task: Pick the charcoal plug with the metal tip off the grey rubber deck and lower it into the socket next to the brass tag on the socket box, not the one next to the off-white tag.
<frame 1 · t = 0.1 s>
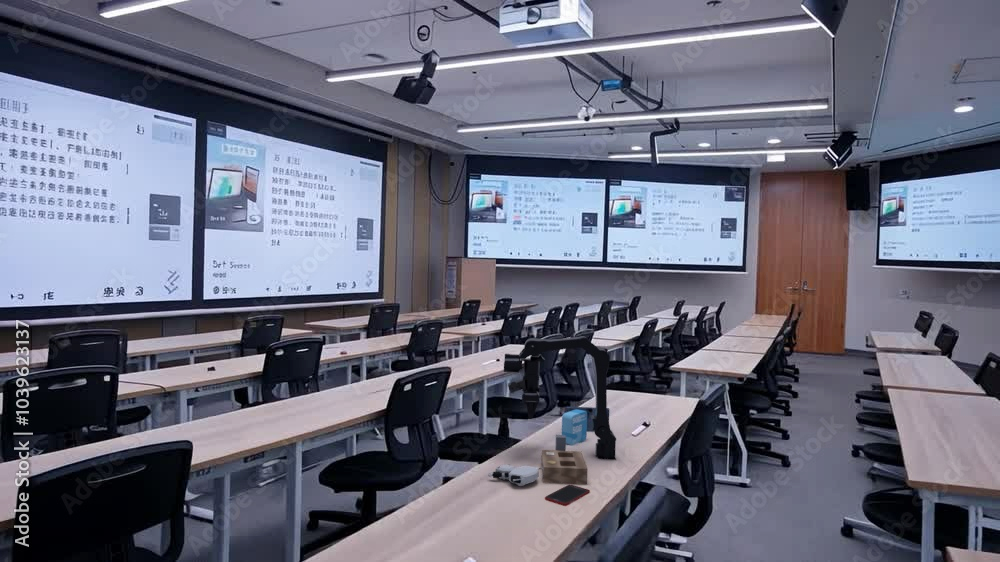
hand: (530, 415, 219), 15 cm above the table, fingers open, 9 cm apart
cell phone: (567, 497, 181), on the table
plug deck: (560, 459, 215), on the table
robot toy: (515, 481, 193), on the table
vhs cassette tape: (586, 431, 254), on the table
data package: (574, 442, 237), on the table
socket box: (563, 473, 200), on the table
plug: (560, 458, 215), resting on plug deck
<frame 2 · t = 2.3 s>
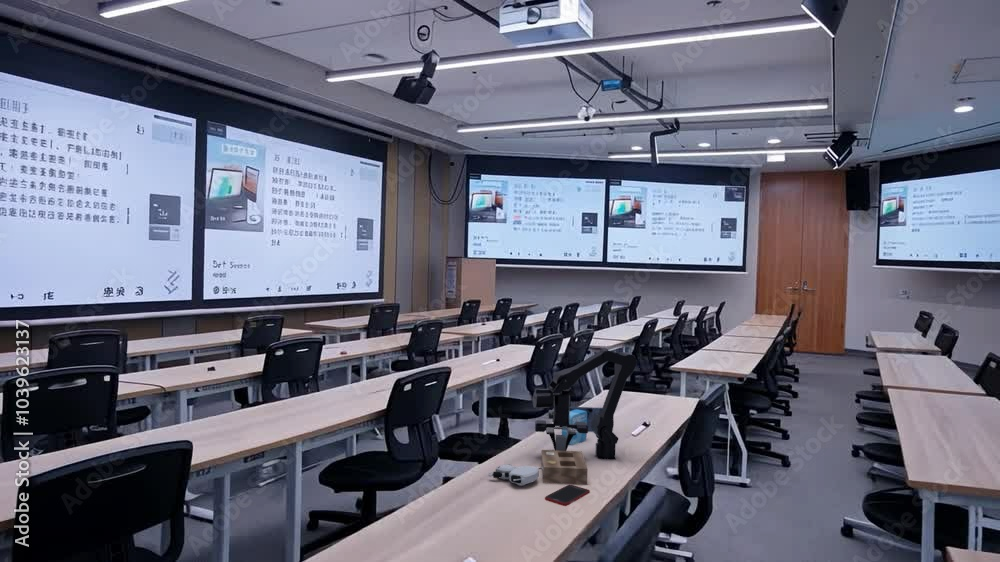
hand: (560, 450, 215), 3 cm above the table, fingers closed on plug, 3 cm apart
plug: (560, 458, 215), resting on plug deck, touching gripper
everything else where it was.
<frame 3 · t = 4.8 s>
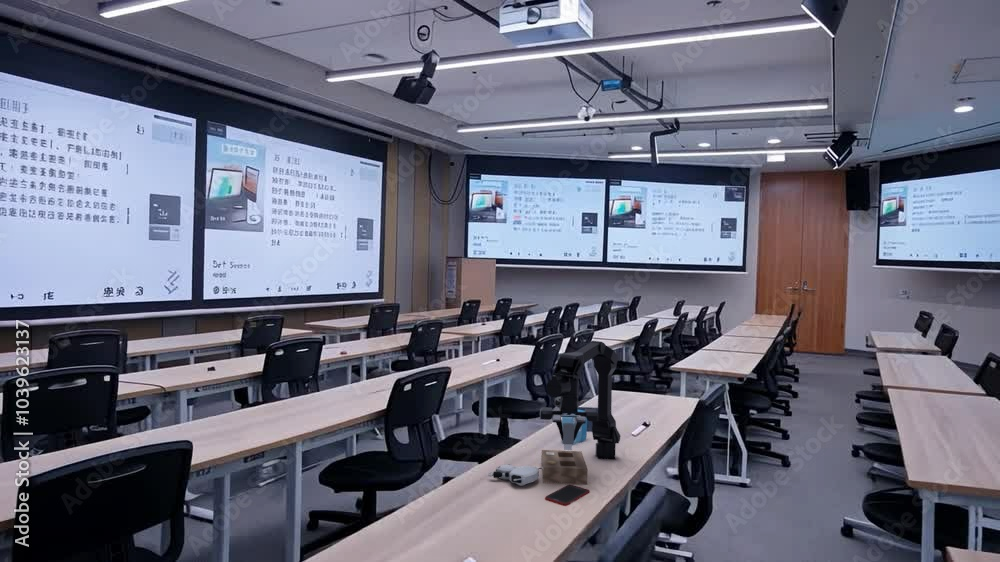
hand: (568, 440, 195), 13 cm above the table, fingers closed on plug, 3 cm apart
plug: (567, 448, 195), point 10 cm above the table, touching gripper
everything else where it was.
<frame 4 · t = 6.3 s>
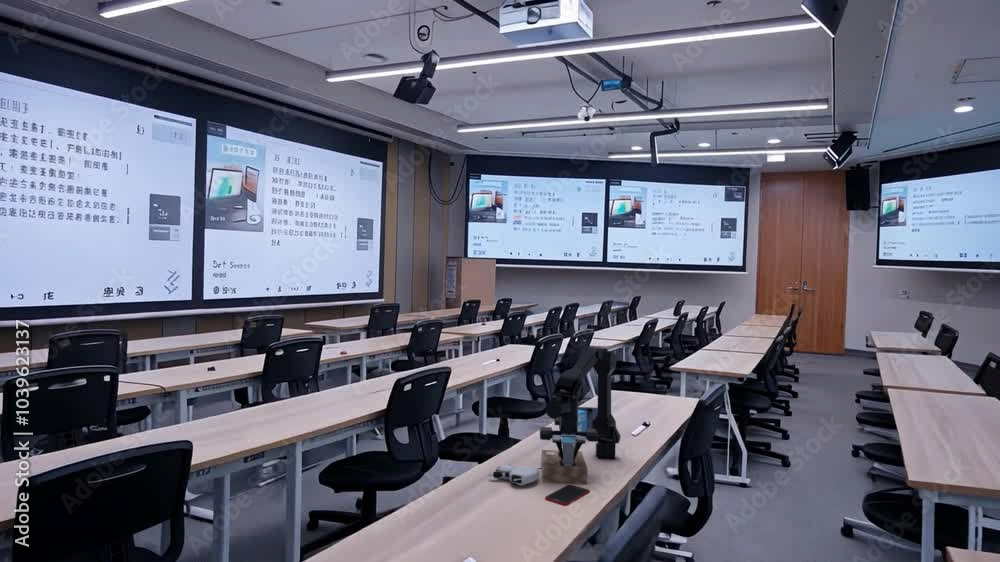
hand: (567, 460, 195), 6 cm above the table, fingers closed on plug, 3 cm apart
plug: (567, 468, 196), point 3 cm above the table, touching gripper
everything else where it was.
when the fingers open (6 cm above the table, at t = 7.3 s): plug drops 3 cm, resting in socket box.
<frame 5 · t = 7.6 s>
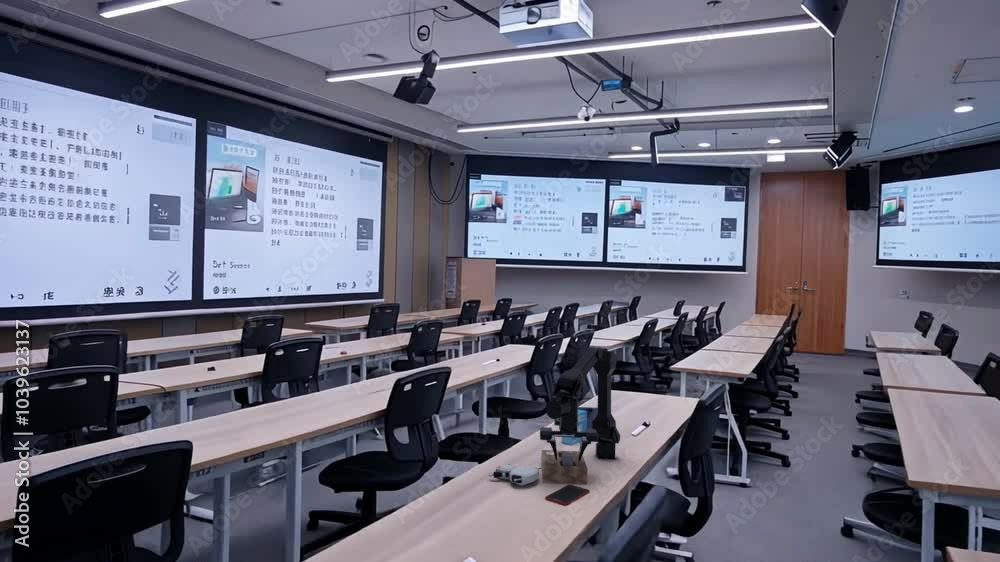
hand: (567, 460, 195), 6 cm above the table, fingers open, 7 cm apart
plug: (567, 478, 196), resting in socket box
everything else where it was.
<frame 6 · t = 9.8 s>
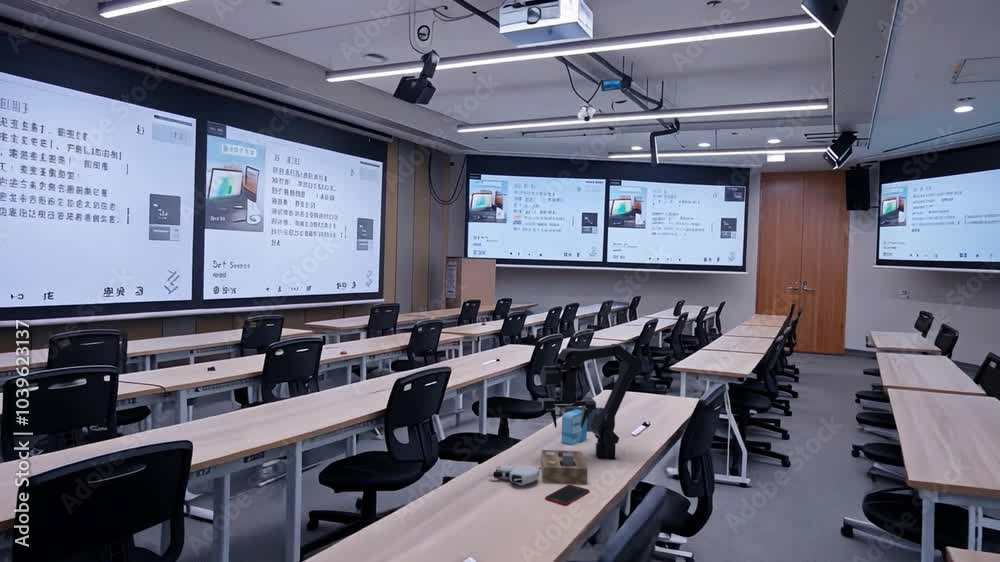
hand: (568, 427, 214), 12 cm above the table, fingers open, 9 cm apart
nothing on the table moved.
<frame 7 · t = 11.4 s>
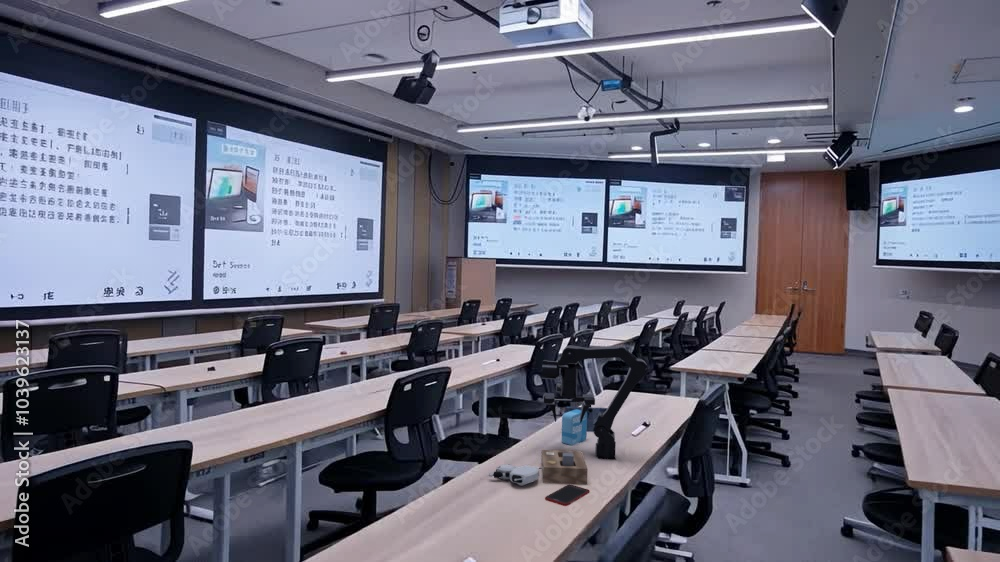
hand: (568, 422, 221), 12 cm above the table, fingers open, 9 cm apart
nothing on the table moved.
at the end: plug 0.1 cm from the target spot on the socket box, point 0.0 cm above the socket box's base; plug tilted 0°; the gripper is holding nothing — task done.
